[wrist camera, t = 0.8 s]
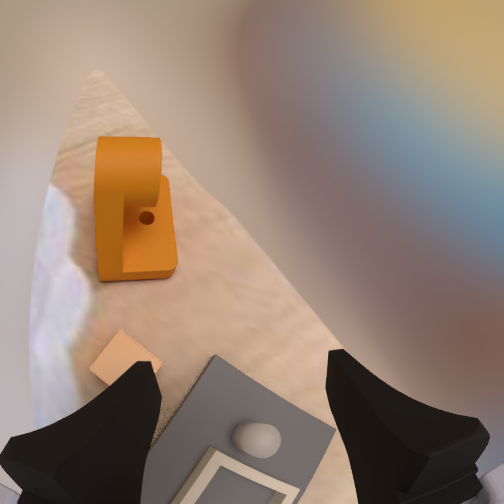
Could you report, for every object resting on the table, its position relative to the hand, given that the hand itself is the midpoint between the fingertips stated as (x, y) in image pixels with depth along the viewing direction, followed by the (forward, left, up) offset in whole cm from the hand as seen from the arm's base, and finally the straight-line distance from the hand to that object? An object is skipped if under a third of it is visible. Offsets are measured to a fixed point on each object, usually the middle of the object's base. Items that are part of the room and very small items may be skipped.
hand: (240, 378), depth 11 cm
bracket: (+10, +12, -16) cm, 22 cm away
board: (-4, -9, -16) cm, 18 cm away
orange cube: (-1, +4, -16) cm, 16 cm away
